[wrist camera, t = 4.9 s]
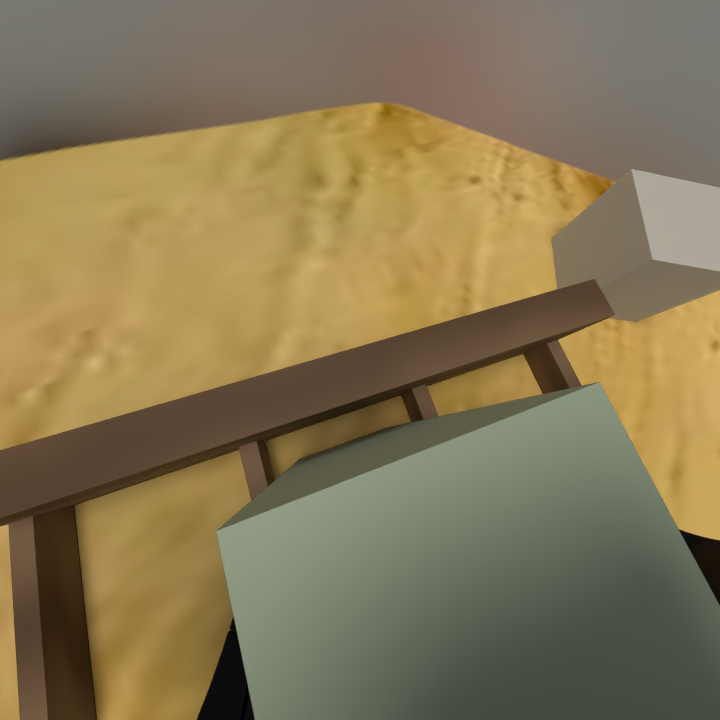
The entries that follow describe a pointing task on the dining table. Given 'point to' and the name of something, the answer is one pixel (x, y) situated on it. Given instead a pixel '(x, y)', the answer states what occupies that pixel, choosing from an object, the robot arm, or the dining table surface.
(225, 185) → the dining table surface
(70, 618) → the lane rack
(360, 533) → the sage block
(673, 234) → the light grey cube
